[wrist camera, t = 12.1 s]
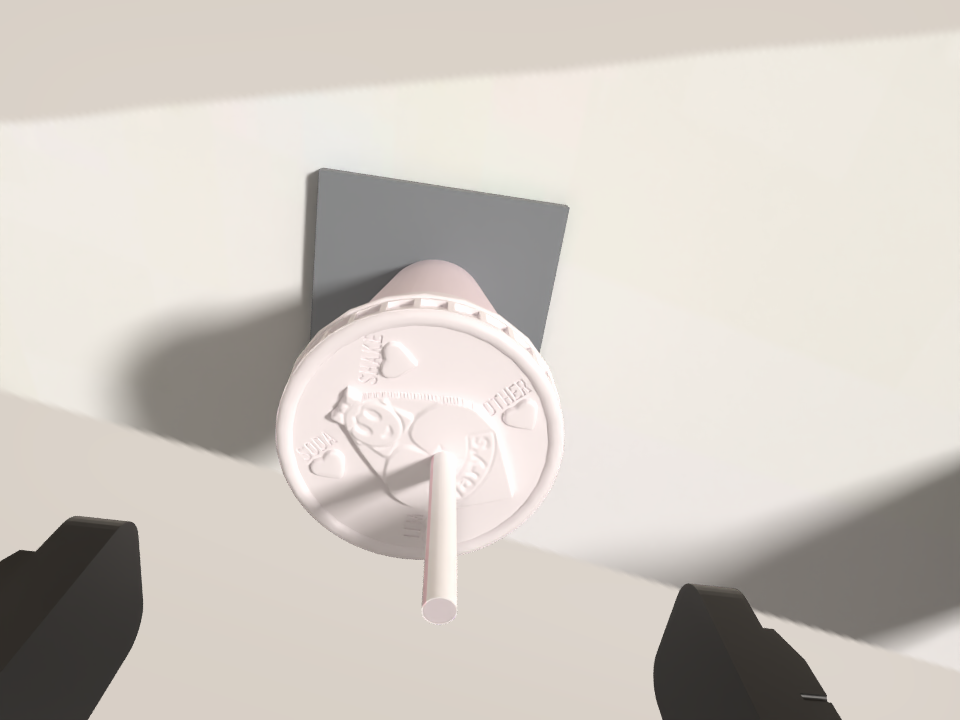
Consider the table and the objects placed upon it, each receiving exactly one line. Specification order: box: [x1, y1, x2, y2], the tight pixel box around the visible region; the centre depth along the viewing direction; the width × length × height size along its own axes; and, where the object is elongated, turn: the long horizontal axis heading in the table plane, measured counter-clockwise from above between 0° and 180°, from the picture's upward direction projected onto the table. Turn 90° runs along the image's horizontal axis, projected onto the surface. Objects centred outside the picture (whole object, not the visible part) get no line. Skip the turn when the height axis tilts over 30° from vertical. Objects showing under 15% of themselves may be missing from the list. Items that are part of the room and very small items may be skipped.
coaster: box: [310, 168, 569, 353], centre depth 22 cm, size 8×8×1 cm
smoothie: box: [275, 260, 565, 625], centre depth 16 cm, size 6×6×14 cm
